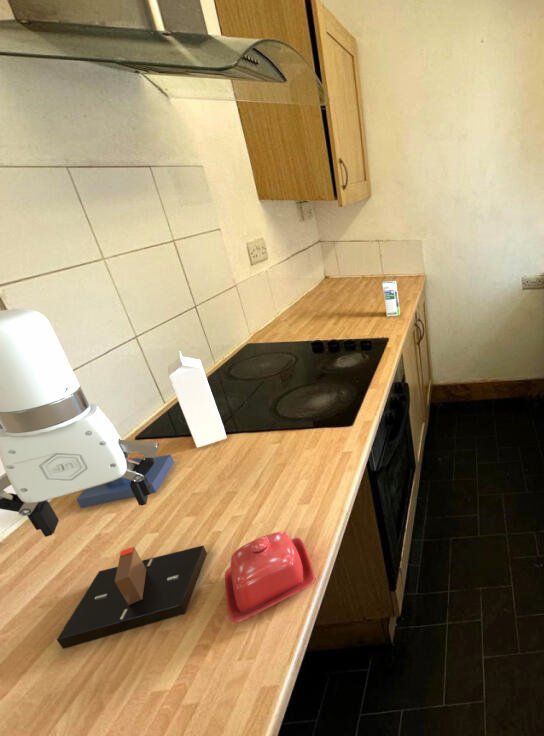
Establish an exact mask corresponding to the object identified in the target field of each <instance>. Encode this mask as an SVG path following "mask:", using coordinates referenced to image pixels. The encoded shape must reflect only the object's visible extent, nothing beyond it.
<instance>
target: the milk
mask: <svg viewBox="0 0 544 736" xmlns="http://www.w3.org/2000/svg"><path fill="white" fill-rule="evenodd" d="M178 353H179V358H178V359H175V361H173V362H172V363H171V364H170V365H169V366H168V367H167V370H168V372H167V373H168V378H169V381H170V384H171V386H172V388H173V391H174V394H175V396H176V399H177V401H178V404H179V407H180V409H181V411H182V414H183V417H184V419H185V422H186V424H187V427H188V429H189V432H190V434H191V437H192V439H193V441H194V445H195V447H196V448H197V449H198V448H201V447H204V446H208V445H211V444H214V443H216V442H219V441H223V440H226V439H227V434H226V430H225V426H224V423H223V421H222V418H221V415H220V412H219V410H218V407H217V404H216V401H215V398H214V395H213V393H212V390H211V386H210V384H209V381H208V378H207V376H206V373H205V369H204V367H203V364H202V361H201V359H199V358H193V357H187V356H183V355H182V352H181V351H180V350H179V352H178Z"/></svg>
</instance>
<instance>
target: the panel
mask: <svg viewBox="0 0 544 736" xmlns="http://www.w3.org/2000/svg"><path fill="white" fill-rule="evenodd" d="M207 555H208V552H207V550H206V548H205V546H204V545H198V546H194V547H191V548H186V549H183V550H178V551H175V552H171V553H167V554H163V555H159V556H155V557H151V558H146V559H143V560H142V559H141V560H142V562H143V564H144V566H145V568H146V576H145V584H144V591H143V598H142V600H140V601H138V602H135V603H133V604H131V605H128V604H127V602H126V600H125V599H124V597H123V595H122V594H121V592H120V590H119V588H118V587H117V585H116V583H115V578H116V573H117V568H118V566H114V567H110V568H107V569H103V570H99V571H98V572H97V574H96V576H95V577H94V579H93V580H92V582H91V584H90V585H89V586H88V588H87V590H86V592H85V593H84V595H83V596H82V598H81V599H80V601H79V602H78V605H77V606H76V608H75V609H74V611H73V612H72V614H71V616H70V617H69V619H68V620H67V622H66V623H65V625H64V627H63V629H62V630H61V632H60V633H59V635H58V636H57V638H56V641H57V643H58V645H60V647H61V648H62V649H63V650H64V649H68V648H71V647H75V646H78V645H82V644H86V643H89V642H92V641H95V640H96V641H97V640H99V639H103V638H106V637H110V636H112V635H116V634H117V635H118V634H120V633H123V632H127V631H130V630H133V629H137V628H142V627H144V626H148V625H151V624H154V623H159V622H162V621H165V620H169V619H172V618H175V617H179V616H183V615H185V614H186V612H187V611H188V608H189V605H190V602H191V599H192V596H193V594H194V591H195V588H196V585H197V582H198V580H199V577H200V575H201V572H202V570H203V565H204V563H205V560H206V558H207Z"/></svg>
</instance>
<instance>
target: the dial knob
mask: <svg viewBox="0 0 544 736" xmlns="http://www.w3.org/2000/svg"><path fill="white" fill-rule="evenodd" d="M117 567H118V568H117V573H116V578H115V583H116V585H117V587H118V588H119V590H120V592H121V594H122V595H123V597H124V599H125V600H126V602H127V604H128V605H131V604H133V603H135V602H138V601H140V600H142V598H143V591H144V584H145V576H146V568H145V566H144V564H143V562H142V559H141V557H140V555H139V553H138V551H137V549H136V547H135V546H134V547H133V546H131V547H128V548H126V549H123V550H121V551H120V554H119V559H118V564H117Z"/></svg>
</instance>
